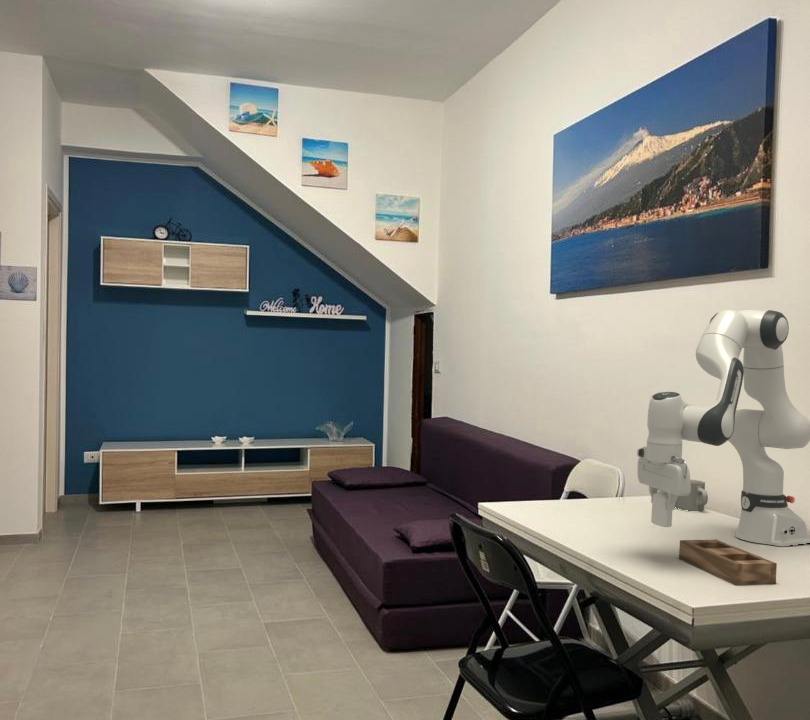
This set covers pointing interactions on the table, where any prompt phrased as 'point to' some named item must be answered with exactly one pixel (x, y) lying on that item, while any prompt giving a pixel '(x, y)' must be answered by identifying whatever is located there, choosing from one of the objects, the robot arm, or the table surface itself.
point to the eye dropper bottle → (661, 510)
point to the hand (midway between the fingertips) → (662, 506)
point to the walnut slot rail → (728, 562)
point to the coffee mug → (693, 497)
